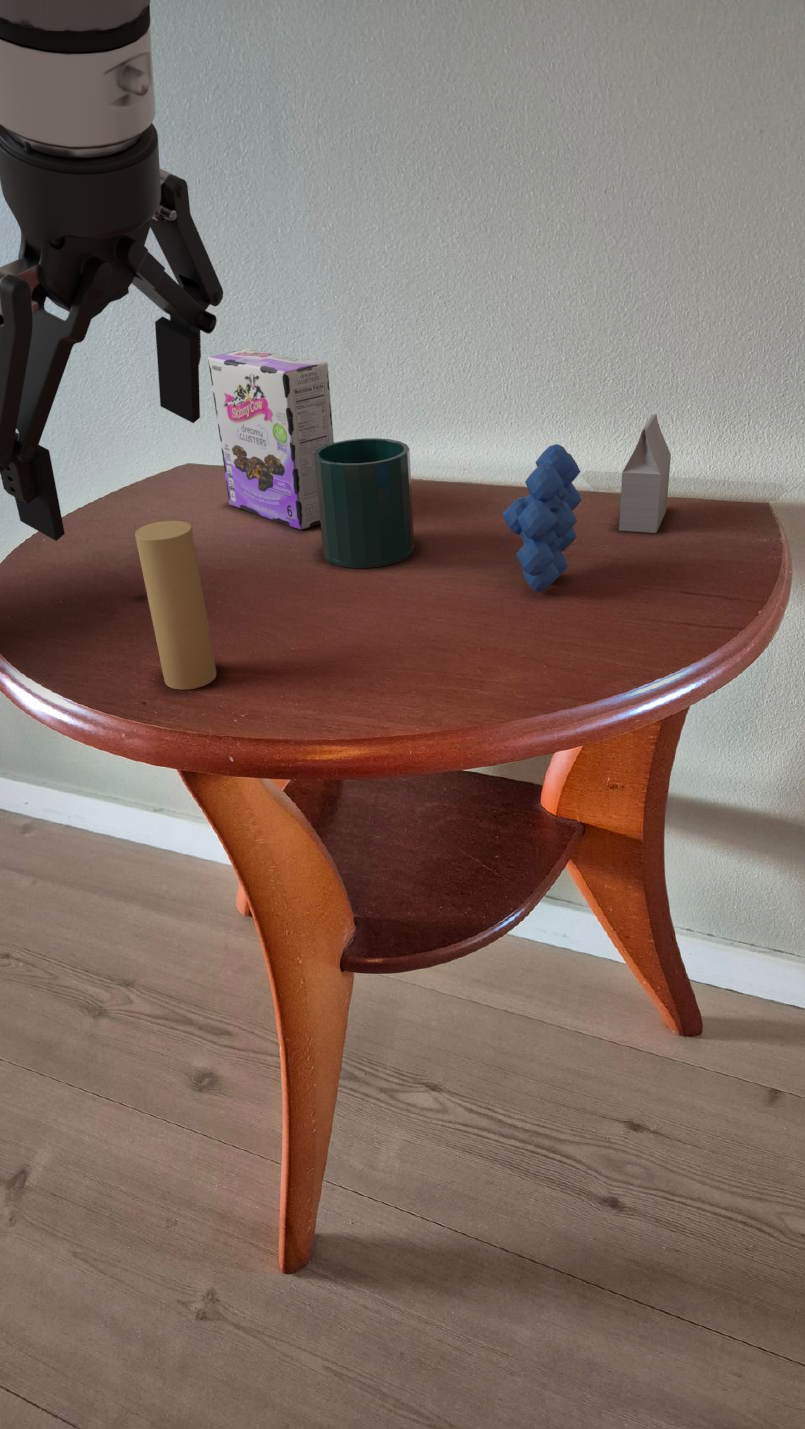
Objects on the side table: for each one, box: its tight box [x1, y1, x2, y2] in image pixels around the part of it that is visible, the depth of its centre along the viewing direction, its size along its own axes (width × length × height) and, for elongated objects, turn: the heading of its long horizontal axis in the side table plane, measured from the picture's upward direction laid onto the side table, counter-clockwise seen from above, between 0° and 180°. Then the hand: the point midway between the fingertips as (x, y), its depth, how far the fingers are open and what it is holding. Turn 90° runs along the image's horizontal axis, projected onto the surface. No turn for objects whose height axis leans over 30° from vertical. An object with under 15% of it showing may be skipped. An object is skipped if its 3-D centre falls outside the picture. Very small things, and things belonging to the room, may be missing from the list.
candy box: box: [207, 348, 335, 531], centre depth 106 cm, size 14×6×16 cm, turn 43°
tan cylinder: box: [134, 520, 217, 691], centre depth 74 cm, size 4×4×12 cm
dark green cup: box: [313, 437, 415, 569], centre depth 96 cm, size 9×9×10 cm
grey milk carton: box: [618, 413, 672, 534], centre depth 99 cm, size 4×7×10 cm, turn 159°
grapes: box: [502, 443, 582, 593], centre depth 86 cm, size 12×7×12 cm, turn 157°
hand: (115, 467), depth 63 cm, fingers open, 13 cm apart
